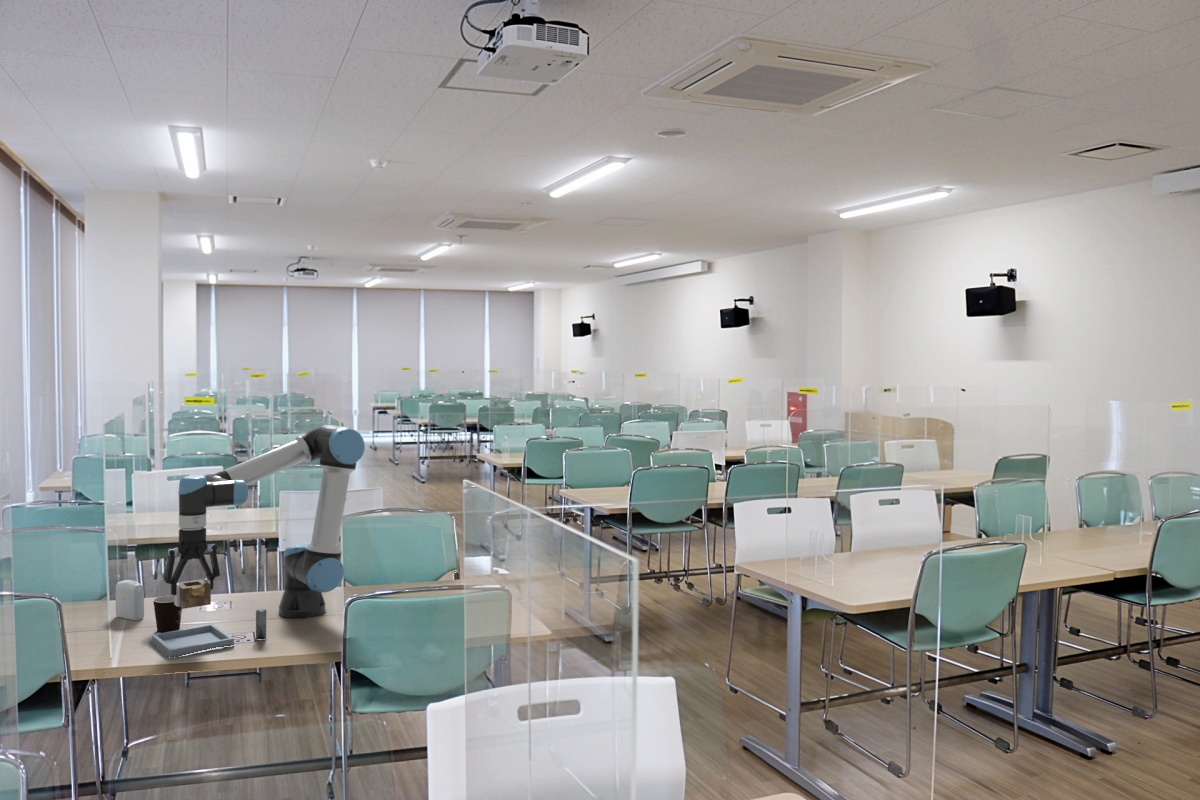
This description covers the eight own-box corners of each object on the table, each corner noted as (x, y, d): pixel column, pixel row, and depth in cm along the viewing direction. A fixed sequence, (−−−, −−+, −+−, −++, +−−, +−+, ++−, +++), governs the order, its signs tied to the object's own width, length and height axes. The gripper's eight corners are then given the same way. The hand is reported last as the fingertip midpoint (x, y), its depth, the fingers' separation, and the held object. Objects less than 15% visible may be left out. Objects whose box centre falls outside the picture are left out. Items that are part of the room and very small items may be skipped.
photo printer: (113, 617, 302) (113, 579, 301) (125, 613, 306) (125, 577, 305) (134, 621, 298) (134, 584, 297) (146, 618, 301) (146, 581, 301)
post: (263, 637, 286) (264, 608, 285) (267, 639, 283) (267, 610, 283) (254, 638, 284) (254, 610, 283) (258, 641, 281) (258, 612, 281)
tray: (212, 631, 289) (212, 623, 289) (233, 646, 276) (233, 638, 276) (151, 643, 277) (151, 634, 277) (170, 659, 264) (170, 650, 264)
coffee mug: (171, 635, 285) (171, 603, 284) (147, 632, 287) (147, 601, 286) (195, 624, 296) (195, 593, 296) (171, 622, 298) (171, 591, 298)
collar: (201, 598, 281) (201, 579, 281) (212, 605, 274) (213, 586, 274) (173, 602, 276) (174, 583, 276) (184, 610, 269) (185, 590, 268)
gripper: (159, 533, 265) (159, 611, 266) (232, 526, 279) (232, 600, 280) (151, 529, 270) (151, 605, 272) (223, 522, 284) (223, 594, 286)
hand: (192, 602), depth 276 cm, fingers closed on collar, 8 cm apart
